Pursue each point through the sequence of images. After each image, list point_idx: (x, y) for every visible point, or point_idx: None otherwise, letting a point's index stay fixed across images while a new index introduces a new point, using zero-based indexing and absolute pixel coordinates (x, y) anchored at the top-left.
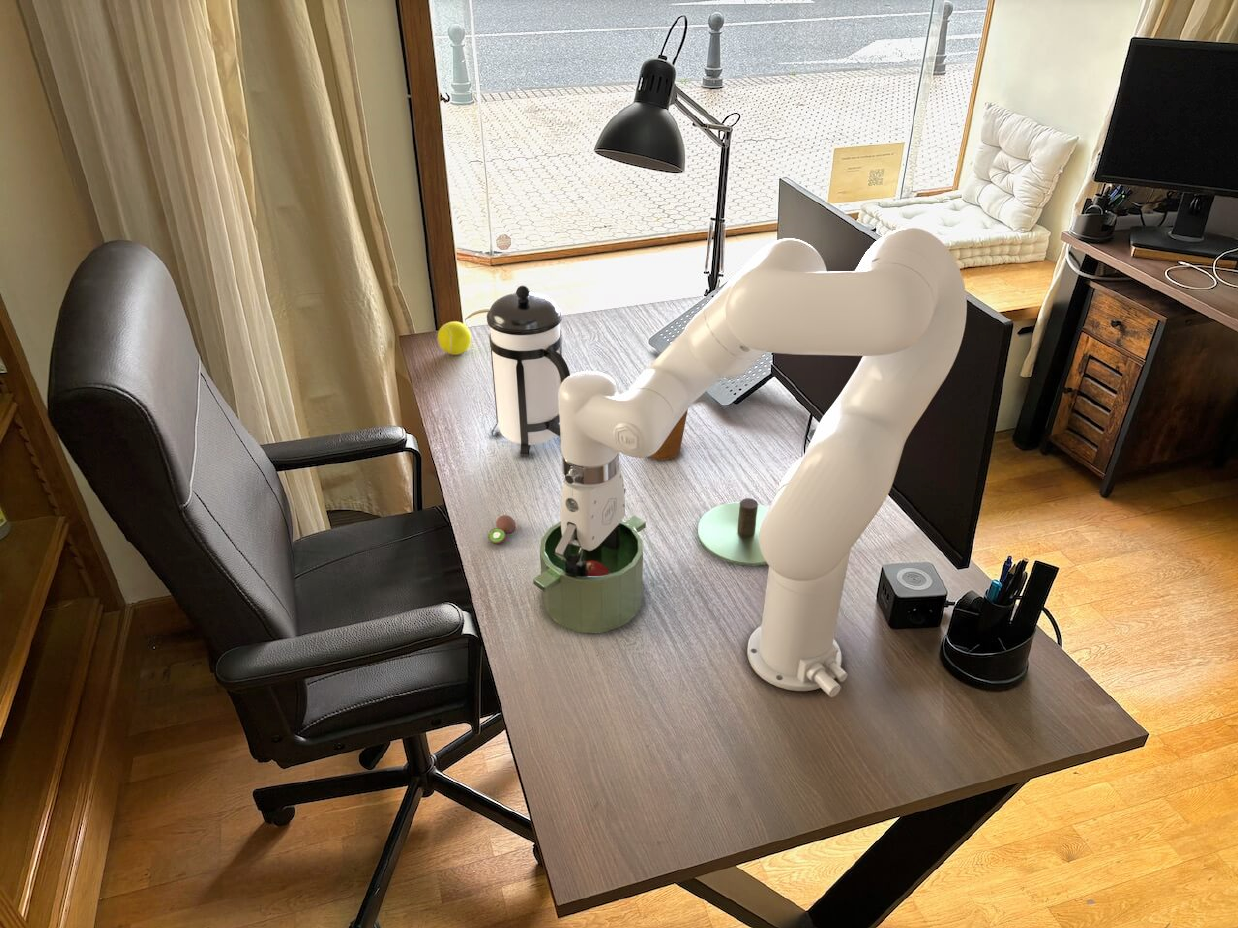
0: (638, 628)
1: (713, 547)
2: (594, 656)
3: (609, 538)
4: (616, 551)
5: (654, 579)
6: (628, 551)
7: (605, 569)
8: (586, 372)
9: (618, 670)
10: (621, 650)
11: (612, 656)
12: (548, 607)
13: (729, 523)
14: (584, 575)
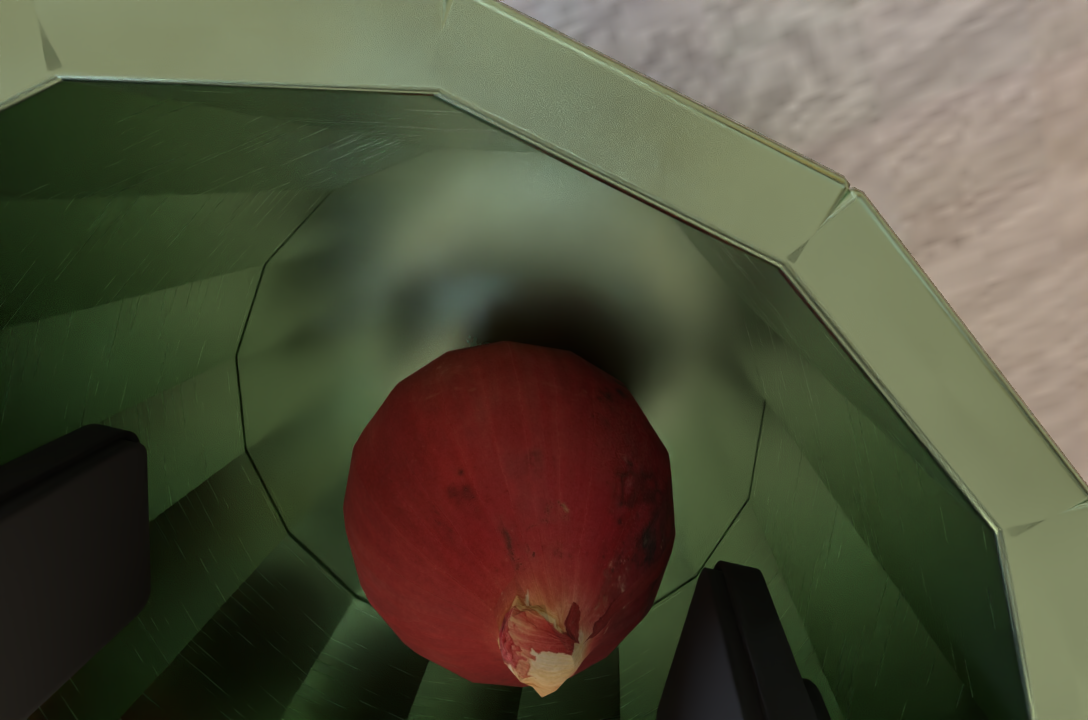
0: (652, 61)
1: None
2: (970, 255)
3: (39, 580)
4: (122, 420)
5: None
6: (84, 326)
7: (433, 451)
8: None
9: (1082, 55)
10: (884, 102)
11: (951, 142)
12: None
13: None
14: (801, 683)
